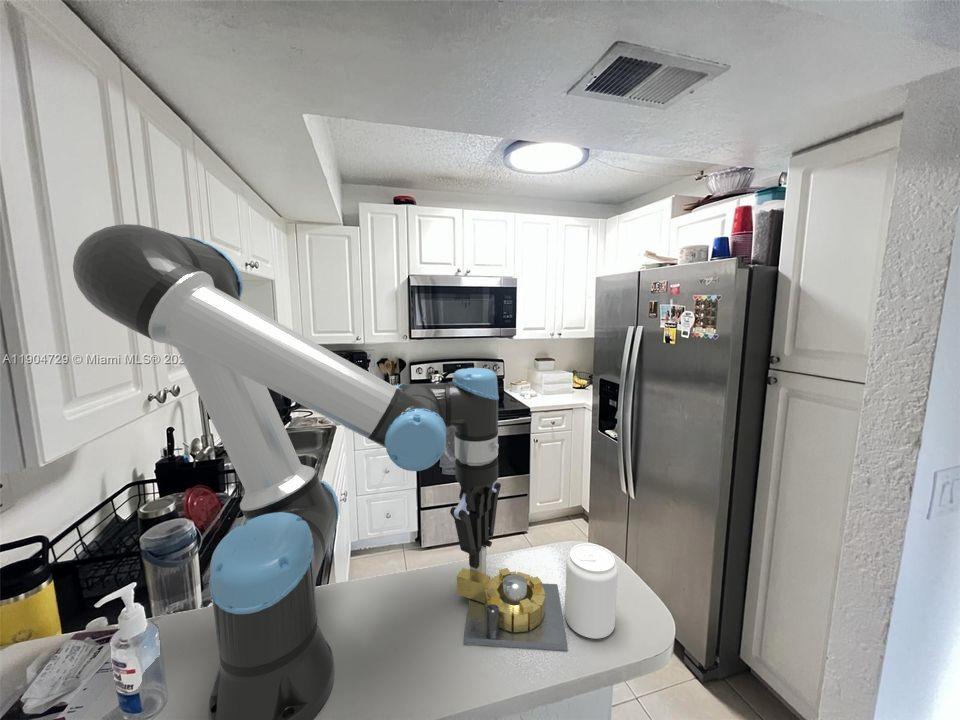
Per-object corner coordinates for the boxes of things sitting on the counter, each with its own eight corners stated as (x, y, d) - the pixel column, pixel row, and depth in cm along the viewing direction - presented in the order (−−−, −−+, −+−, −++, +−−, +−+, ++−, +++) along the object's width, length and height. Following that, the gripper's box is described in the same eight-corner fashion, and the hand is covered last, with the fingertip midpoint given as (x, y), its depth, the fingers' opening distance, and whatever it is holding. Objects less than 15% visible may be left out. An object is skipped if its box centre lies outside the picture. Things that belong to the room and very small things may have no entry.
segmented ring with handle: (550, 596, 70) (551, 576, 69) (534, 640, 61) (535, 617, 60) (471, 572, 76) (471, 553, 75) (446, 609, 67) (446, 588, 66)
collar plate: (464, 644, 62) (463, 609, 61) (471, 585, 75) (471, 555, 74) (567, 651, 60) (568, 615, 60) (557, 589, 73) (558, 559, 72)
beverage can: (617, 646, 61) (621, 576, 60) (564, 637, 63) (567, 569, 61) (611, 607, 69) (614, 544, 67) (564, 600, 71) (566, 538, 69)
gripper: (473, 476, 61) (475, 611, 65) (513, 449, 71) (512, 566, 75) (436, 465, 65) (440, 592, 69) (479, 441, 76) (480, 553, 79)
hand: (478, 579), depth 72 cm, fingers closed
